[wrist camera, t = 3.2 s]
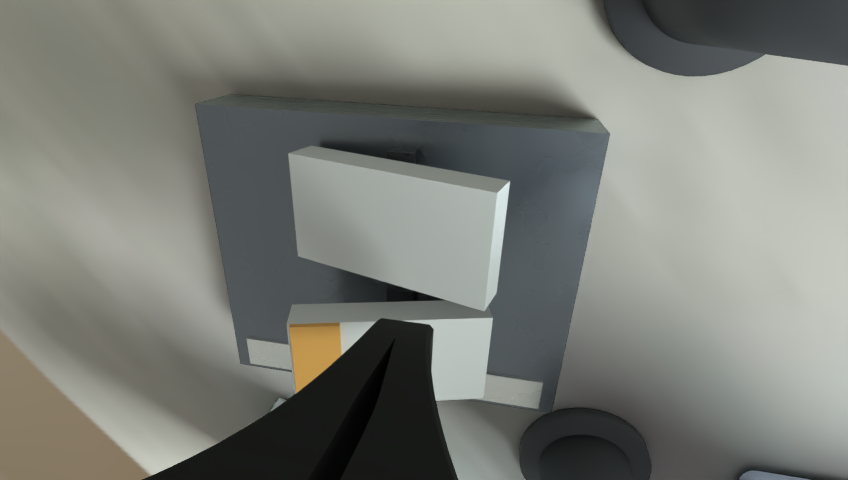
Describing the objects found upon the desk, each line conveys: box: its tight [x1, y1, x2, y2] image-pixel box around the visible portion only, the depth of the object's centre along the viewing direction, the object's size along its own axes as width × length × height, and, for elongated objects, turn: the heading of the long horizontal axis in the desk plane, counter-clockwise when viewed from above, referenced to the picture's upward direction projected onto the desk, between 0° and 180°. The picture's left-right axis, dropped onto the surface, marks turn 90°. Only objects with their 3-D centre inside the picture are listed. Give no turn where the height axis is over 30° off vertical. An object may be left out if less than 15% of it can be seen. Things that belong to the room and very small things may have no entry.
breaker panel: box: [195, 94, 610, 413], centre depth 16 cm, size 12×10×3 cm
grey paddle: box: [288, 146, 510, 311], centre depth 13 cm, size 6×3×1 cm, turn 87°
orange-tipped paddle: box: [287, 300, 493, 401], centre depth 15 cm, size 6×3×1 cm, turn 88°
